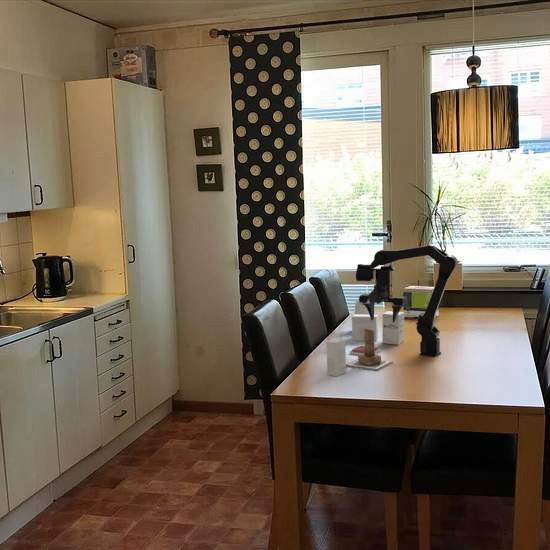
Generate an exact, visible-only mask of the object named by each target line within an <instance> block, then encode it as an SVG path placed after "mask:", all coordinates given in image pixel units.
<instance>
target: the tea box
mask: <svg viewBox="0 0 550 550" xmlns="http://www.w3.org/2000/svg"><path fill="white" fill-rule="evenodd" d="M434 287H435V286H420V285H418V286H417V285H409V286H407V287H404V288H403V291H402V293H403V295H402V296H403V297H407V299H408V304H406V305H405V306H402V308H403V312H404V318H414V317H418V318H419V315H420V314H421V313H425V311H426V309H427V307H428V304H429V301H430V298H431V296H432V293H433V290H434ZM439 311H440V309H439V306H438V309H437V312H436V316H437V317H439ZM418 318H417V319H418Z"/></svg>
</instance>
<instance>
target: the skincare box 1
mask: <svg viewBox="0 0 550 550" xmlns="http://www.w3.org/2000/svg"><path fill="white" fill-rule="evenodd" d="M325 343H326V345H325V346H326V374H327V375H328V376H333V377H338V376H340V375H344V374H346V373H347V367H346V364H347V361H346V360H347V359H346V358H347V357H346V355H347V353H346V352H347V351H346V339H345V338H338V337H337V338H336V337H335V338H333V339H329V340H327V341H326V342H325Z"/></svg>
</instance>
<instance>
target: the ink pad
mask: <svg viewBox="0 0 550 550" xmlns="http://www.w3.org/2000/svg"><path fill="white" fill-rule="evenodd" d="M374 347H375V346H374ZM348 353H349V355H354V356H358V355H361V354H365V345H358V346H356V347H355V348H353V349H351V350H350V351H348ZM379 353H381V349H380V348H379V347H375V354H376V355H378V354H379Z"/></svg>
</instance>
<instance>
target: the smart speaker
mask: <svg viewBox="0 0 550 550" xmlns="http://www.w3.org/2000/svg"><path fill="white" fill-rule="evenodd" d="M354 314H362V315H369V312H368V310H367V308H366V307H365V306H364V305H362V303H360V302H359V300H355V303H354Z"/></svg>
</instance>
